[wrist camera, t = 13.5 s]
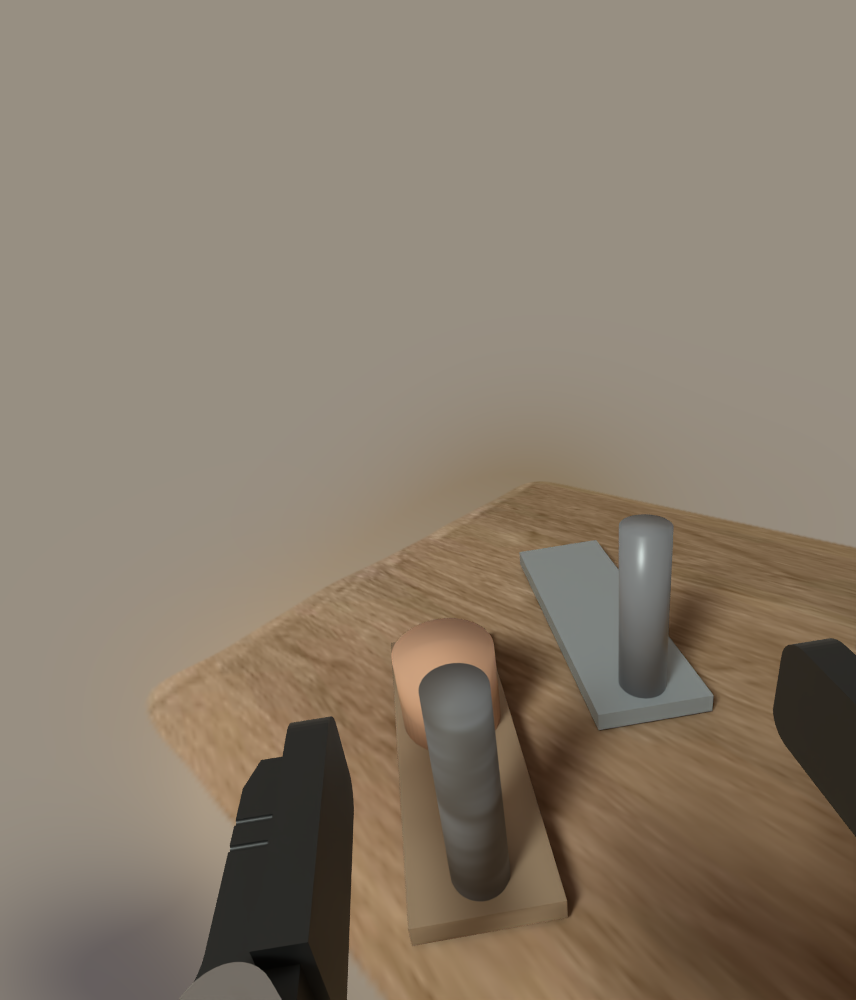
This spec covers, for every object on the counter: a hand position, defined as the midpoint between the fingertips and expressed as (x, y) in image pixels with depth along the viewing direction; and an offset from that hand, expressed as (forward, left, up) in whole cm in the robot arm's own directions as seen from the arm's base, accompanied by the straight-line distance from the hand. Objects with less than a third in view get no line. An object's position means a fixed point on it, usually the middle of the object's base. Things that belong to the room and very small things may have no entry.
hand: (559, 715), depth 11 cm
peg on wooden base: (+1, -18, -20) cm, 27 cm away
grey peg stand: (-11, -28, -20) cm, 36 cm away
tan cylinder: (+1, -20, -19) cm, 28 cm away
